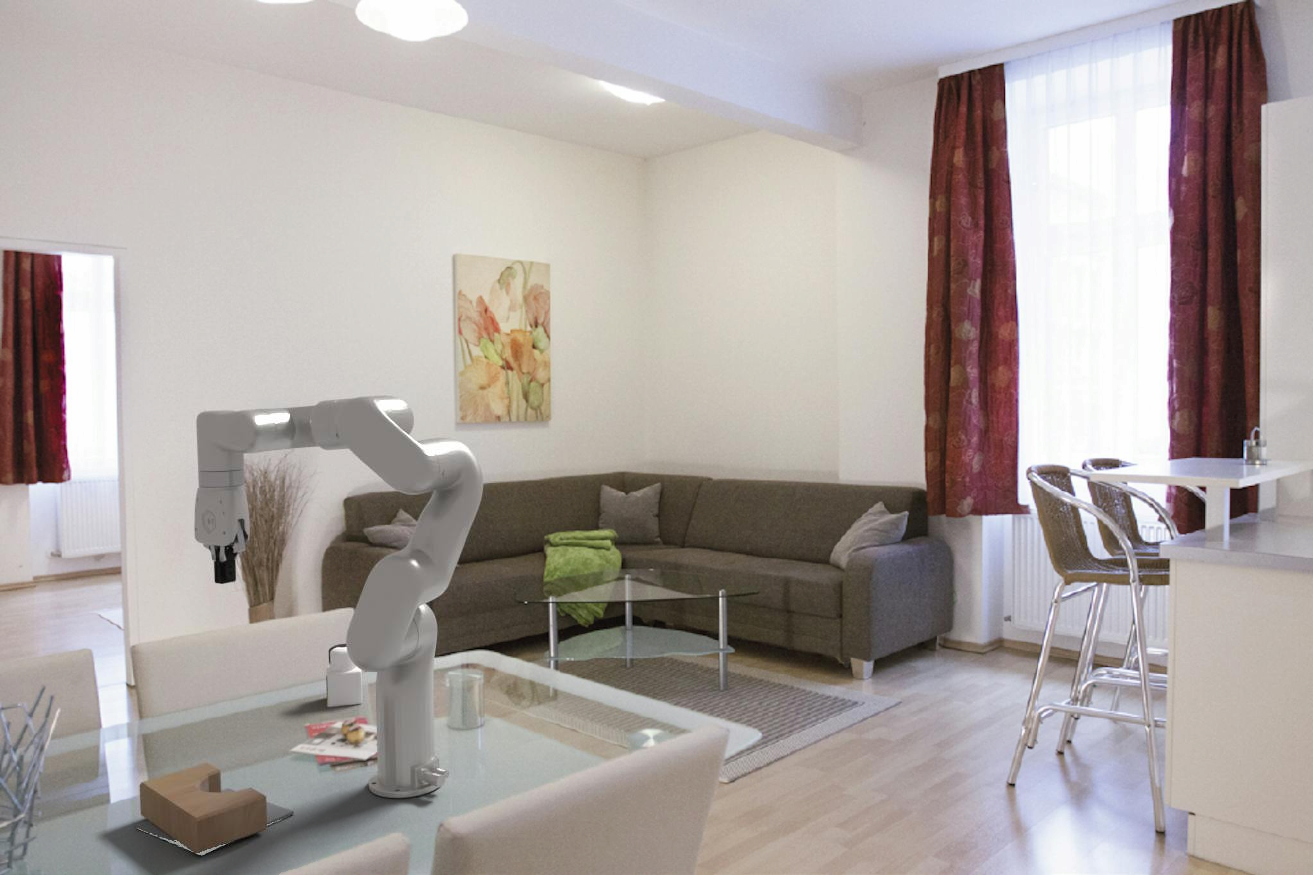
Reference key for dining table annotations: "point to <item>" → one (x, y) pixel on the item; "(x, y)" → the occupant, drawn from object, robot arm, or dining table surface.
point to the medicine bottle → (342, 678)
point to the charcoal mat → (272, 810)
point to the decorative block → (202, 808)
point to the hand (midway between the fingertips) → (225, 582)
